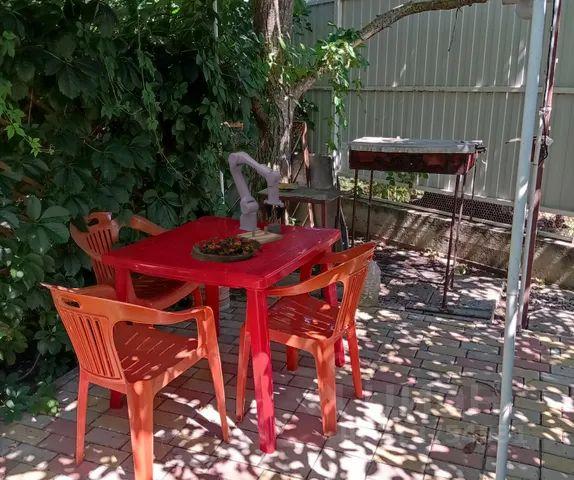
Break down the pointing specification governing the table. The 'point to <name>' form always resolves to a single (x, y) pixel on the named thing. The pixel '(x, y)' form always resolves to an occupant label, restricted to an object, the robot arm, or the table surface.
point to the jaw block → (274, 228)
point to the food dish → (226, 250)
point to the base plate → (261, 236)
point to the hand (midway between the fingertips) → (274, 218)
